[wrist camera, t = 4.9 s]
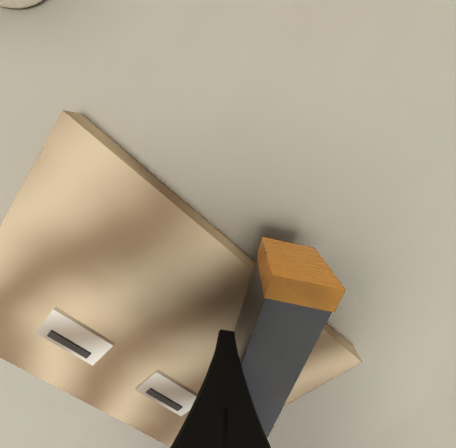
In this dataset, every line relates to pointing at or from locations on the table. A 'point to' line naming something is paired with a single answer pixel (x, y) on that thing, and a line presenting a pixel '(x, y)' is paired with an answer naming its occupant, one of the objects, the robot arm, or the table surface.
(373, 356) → the table surface
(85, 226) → the label board
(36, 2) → the beer glass
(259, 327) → the swing bar
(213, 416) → the robot arm
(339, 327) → the table surface
